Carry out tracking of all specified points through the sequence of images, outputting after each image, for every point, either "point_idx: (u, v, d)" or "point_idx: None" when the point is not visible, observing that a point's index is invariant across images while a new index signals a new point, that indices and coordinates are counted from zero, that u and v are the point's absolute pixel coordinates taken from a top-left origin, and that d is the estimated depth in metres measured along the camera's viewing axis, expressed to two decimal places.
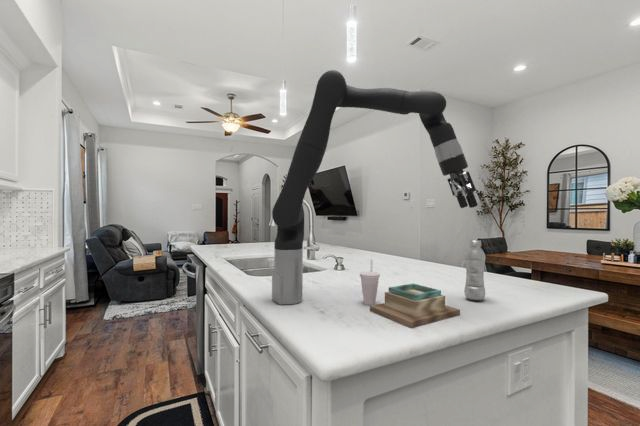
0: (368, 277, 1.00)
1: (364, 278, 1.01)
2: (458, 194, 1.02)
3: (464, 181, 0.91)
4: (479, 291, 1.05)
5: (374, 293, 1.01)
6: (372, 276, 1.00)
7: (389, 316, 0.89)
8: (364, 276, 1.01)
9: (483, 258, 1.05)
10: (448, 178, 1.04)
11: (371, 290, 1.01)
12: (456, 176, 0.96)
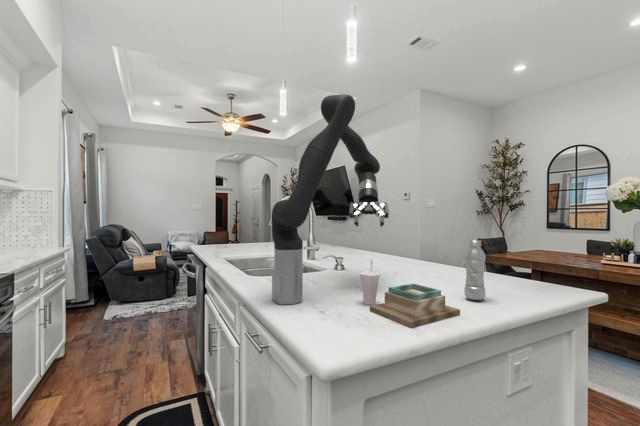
0: (368, 277, 1.00)
1: (364, 278, 1.01)
2: None
3: (387, 207, 1.18)
4: (479, 291, 1.05)
5: (374, 293, 1.01)
6: (372, 276, 1.00)
7: (389, 316, 0.89)
8: (364, 276, 1.01)
9: (483, 258, 1.05)
10: None
11: (371, 290, 1.01)
12: (375, 202, 1.20)
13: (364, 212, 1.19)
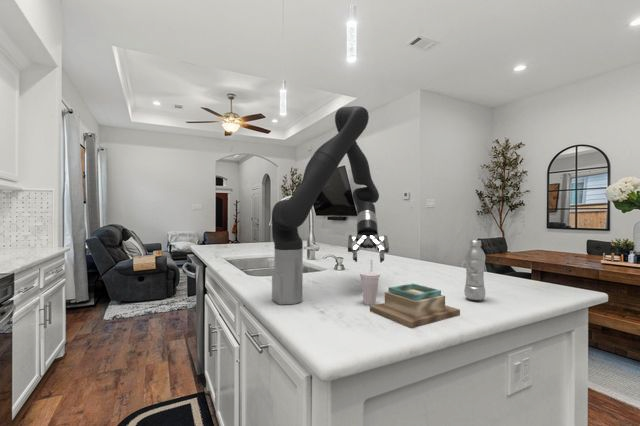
0: (368, 277, 1.00)
1: (364, 278, 1.01)
2: (356, 249, 1.12)
3: (387, 241, 1.13)
4: (479, 291, 1.05)
5: (374, 293, 1.01)
6: (372, 276, 1.00)
7: (389, 316, 0.89)
8: (364, 276, 1.01)
9: (483, 258, 1.05)
10: (350, 235, 1.16)
11: (371, 290, 1.01)
12: (375, 236, 1.15)
13: (363, 246, 1.13)
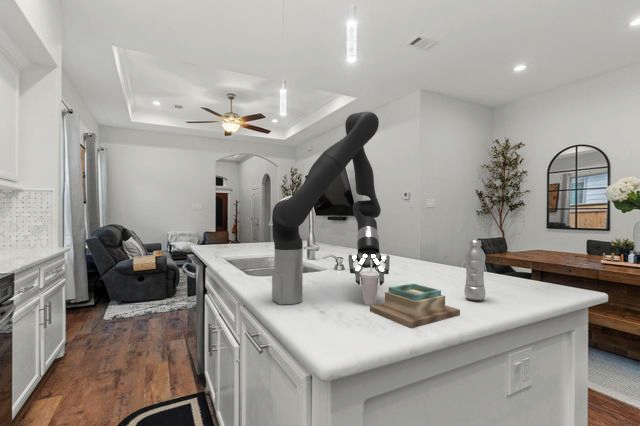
0: (368, 277, 1.00)
1: (364, 278, 1.01)
2: (359, 270, 1.05)
3: None
4: (479, 291, 1.05)
5: (374, 293, 1.01)
6: (372, 276, 1.00)
7: (389, 316, 0.89)
8: (364, 276, 1.01)
9: (483, 258, 1.05)
10: (350, 255, 1.08)
11: (371, 290, 1.01)
12: (377, 254, 1.08)
13: (365, 266, 1.06)
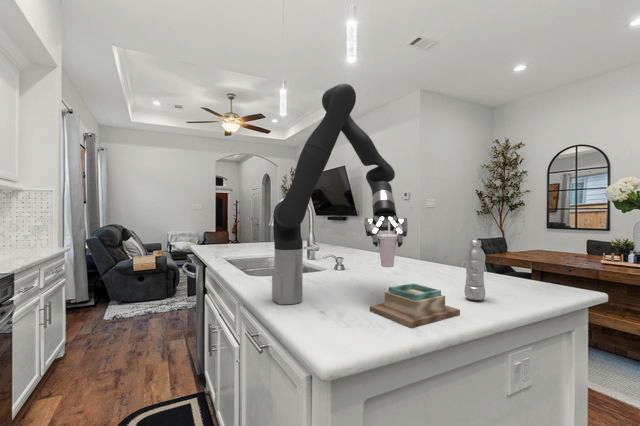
0: (386, 238, 0.97)
1: (382, 239, 0.98)
2: None
3: None
4: (479, 291, 1.05)
5: (392, 255, 0.98)
6: (390, 237, 0.97)
7: (389, 316, 0.89)
8: (382, 237, 0.97)
9: (483, 258, 1.05)
10: (366, 218, 1.05)
11: (389, 252, 0.97)
12: (393, 217, 1.04)
13: (382, 228, 1.03)
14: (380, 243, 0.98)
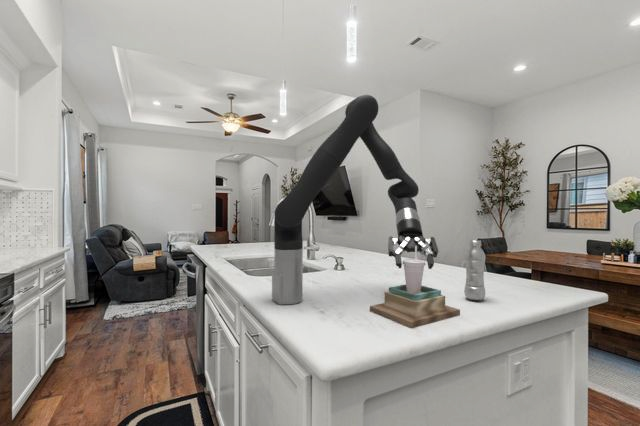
0: (413, 265, 0.91)
1: (409, 266, 0.92)
2: None
3: None
4: (479, 291, 1.05)
5: (419, 282, 0.92)
6: (418, 263, 0.91)
7: (389, 316, 0.89)
8: (409, 264, 0.92)
9: (483, 258, 1.05)
10: None
11: (416, 279, 0.92)
12: (420, 237, 0.98)
13: (407, 249, 0.97)
14: (406, 270, 0.93)
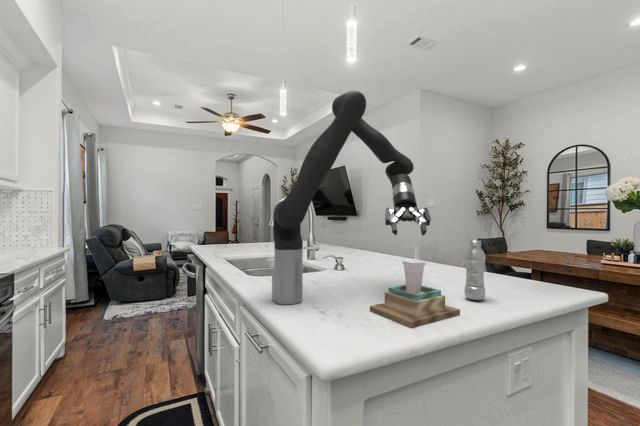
0: (413, 265, 0.91)
1: (409, 266, 0.92)
2: None
3: None
4: (479, 291, 1.05)
5: (419, 282, 0.92)
6: (418, 263, 0.91)
7: (389, 316, 0.89)
8: (409, 263, 0.92)
9: (483, 258, 1.05)
10: (388, 208, 1.08)
11: (416, 279, 0.92)
12: (414, 208, 1.07)
13: (402, 219, 1.06)
14: (406, 269, 0.93)
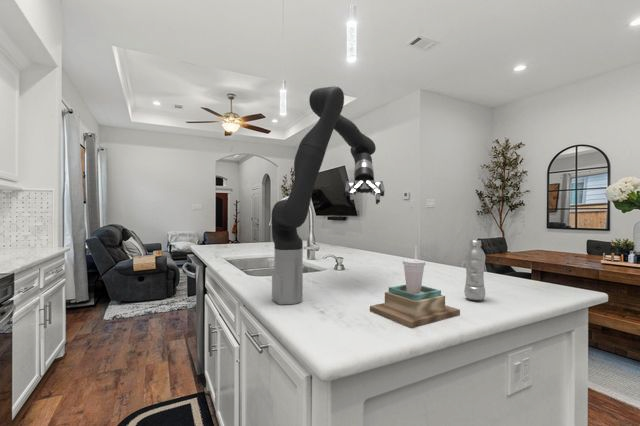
0: (413, 265, 0.91)
1: (409, 266, 0.92)
2: None
3: (383, 185, 1.19)
4: (479, 291, 1.05)
5: (419, 282, 0.92)
6: (418, 263, 0.91)
7: (389, 316, 0.89)
8: (409, 264, 0.92)
9: (483, 258, 1.05)
10: None
11: (416, 279, 0.92)
12: (371, 181, 1.20)
13: (360, 190, 1.19)
14: (406, 270, 0.93)
